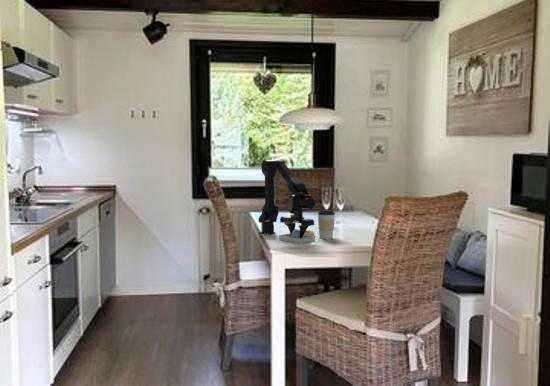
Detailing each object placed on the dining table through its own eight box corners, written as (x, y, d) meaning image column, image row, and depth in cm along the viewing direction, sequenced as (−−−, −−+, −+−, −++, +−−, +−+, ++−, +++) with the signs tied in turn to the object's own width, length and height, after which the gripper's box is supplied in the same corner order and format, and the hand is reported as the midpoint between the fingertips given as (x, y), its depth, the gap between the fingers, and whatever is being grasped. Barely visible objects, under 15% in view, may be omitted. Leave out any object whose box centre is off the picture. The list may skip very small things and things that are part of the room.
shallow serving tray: (278, 239, 271) (278, 235, 270) (292, 236, 278) (292, 232, 278) (300, 243, 260) (301, 239, 260) (314, 240, 268) (314, 236, 267)
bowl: (291, 235, 282) (291, 231, 282) (303, 233, 290) (303, 229, 289) (305, 237, 276) (305, 234, 275) (318, 235, 283) (318, 231, 282)
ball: (288, 240, 269) (289, 229, 269) (296, 238, 273) (296, 228, 273) (297, 241, 265) (297, 230, 265) (304, 240, 269) (304, 229, 269)
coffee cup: (333, 236, 281) (333, 208, 280) (335, 239, 272) (336, 210, 271) (316, 236, 281) (316, 208, 279) (318, 239, 272) (318, 210, 270)
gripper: (272, 206, 268) (272, 237, 270) (300, 210, 255) (299, 242, 257) (287, 205, 276) (287, 234, 278) (315, 208, 263) (314, 239, 265)
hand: (296, 237), depth 269 cm, fingers closed on ball, 6 cm apart
